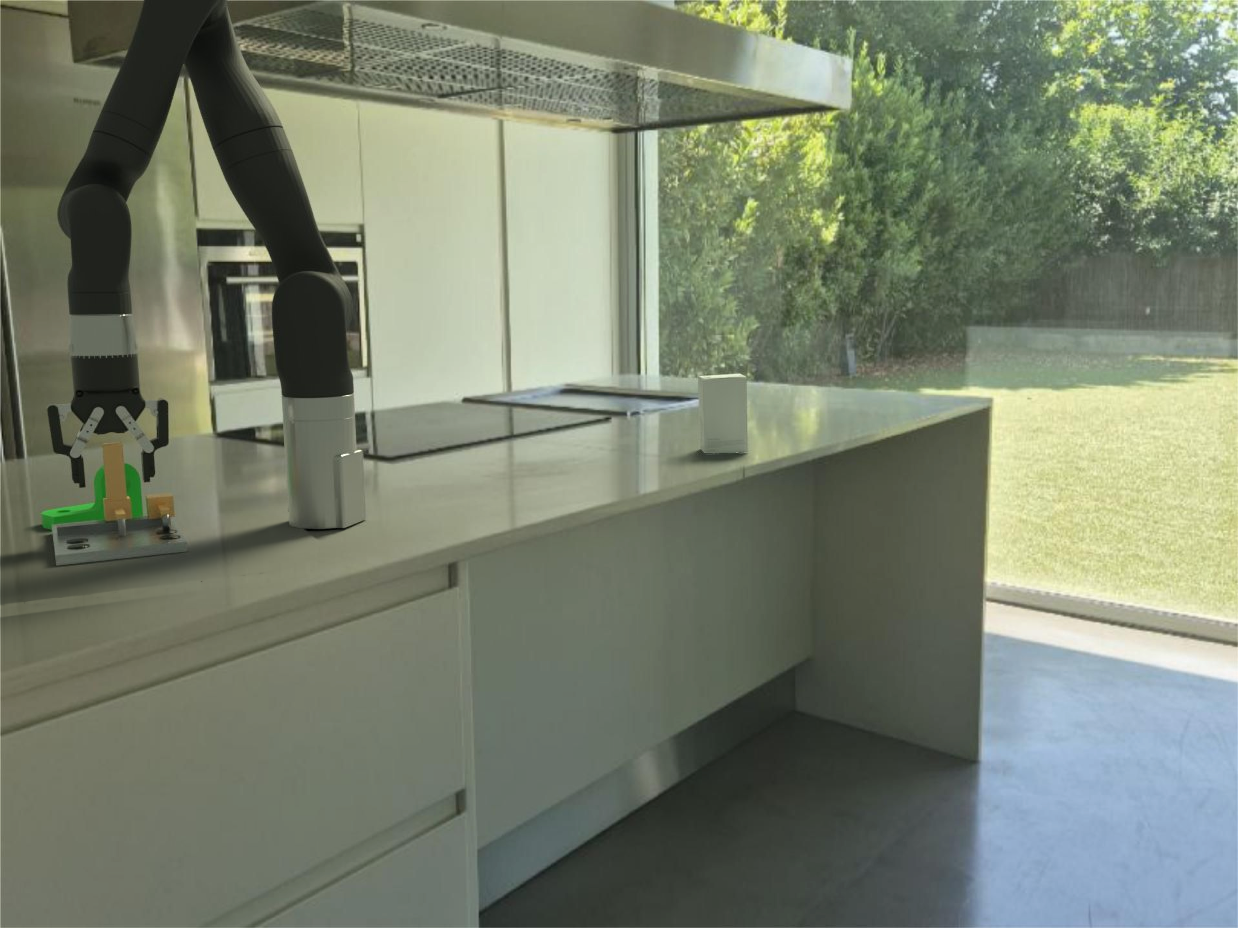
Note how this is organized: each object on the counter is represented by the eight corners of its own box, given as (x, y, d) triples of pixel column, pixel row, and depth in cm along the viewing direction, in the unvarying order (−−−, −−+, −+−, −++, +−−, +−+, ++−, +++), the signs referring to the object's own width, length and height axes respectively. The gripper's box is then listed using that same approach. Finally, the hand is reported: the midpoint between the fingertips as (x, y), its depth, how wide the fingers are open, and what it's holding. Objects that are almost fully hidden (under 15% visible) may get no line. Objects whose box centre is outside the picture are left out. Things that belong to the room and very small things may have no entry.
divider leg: (130, 523, 144) (124, 441, 142) (136, 534, 137) (129, 448, 135) (105, 525, 143) (98, 443, 141) (109, 537, 136) (102, 450, 134)
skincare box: (742, 453, 209) (742, 373, 207) (748, 457, 203) (749, 375, 201) (697, 454, 208) (697, 374, 206) (702, 459, 202) (702, 376, 200)
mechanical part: (122, 512, 160) (117, 456, 159) (143, 517, 156) (138, 460, 155) (34, 526, 151) (29, 467, 150) (55, 532, 147) (49, 471, 146)
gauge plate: (168, 522, 151) (165, 486, 151) (187, 551, 134) (184, 510, 133) (52, 533, 145) (49, 496, 144) (56, 565, 127) (52, 523, 127)
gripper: (163, 348, 145) (172, 475, 148) (38, 352, 139) (50, 485, 141) (169, 351, 139) (179, 483, 141) (39, 355, 132) (51, 494, 135)
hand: (114, 483), depth 141 cm, fingers open, 7 cm apart
